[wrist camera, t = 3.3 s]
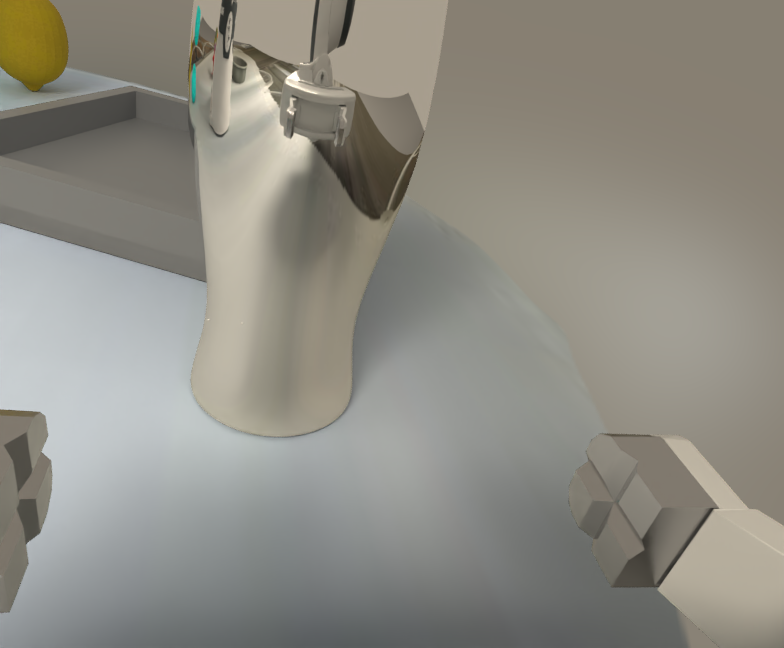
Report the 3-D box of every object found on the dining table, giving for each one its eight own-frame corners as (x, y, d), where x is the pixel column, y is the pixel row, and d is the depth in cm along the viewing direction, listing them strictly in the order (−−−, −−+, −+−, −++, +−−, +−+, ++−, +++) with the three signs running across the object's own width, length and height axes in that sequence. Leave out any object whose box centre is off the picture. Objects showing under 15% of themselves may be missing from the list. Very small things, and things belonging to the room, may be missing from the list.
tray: (-99, 193, 29) (-112, 133, 28) (131, 125, 47) (130, 85, 45) (240, 291, 28) (245, 234, 27) (347, 184, 46) (354, 145, 44)
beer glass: (235, 318, 26) (271, -80, 19) (382, 367, 25) (481, -30, 18) (136, 405, 20) (130, -128, 13) (323, 474, 19) (436, -55, 12)
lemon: (52, 104, 47) (44, -8, 43) (-21, 89, 46) (-37, -26, 42) (82, 92, 52) (77, -10, 48) (16, 78, 51) (5, -26, 47)
